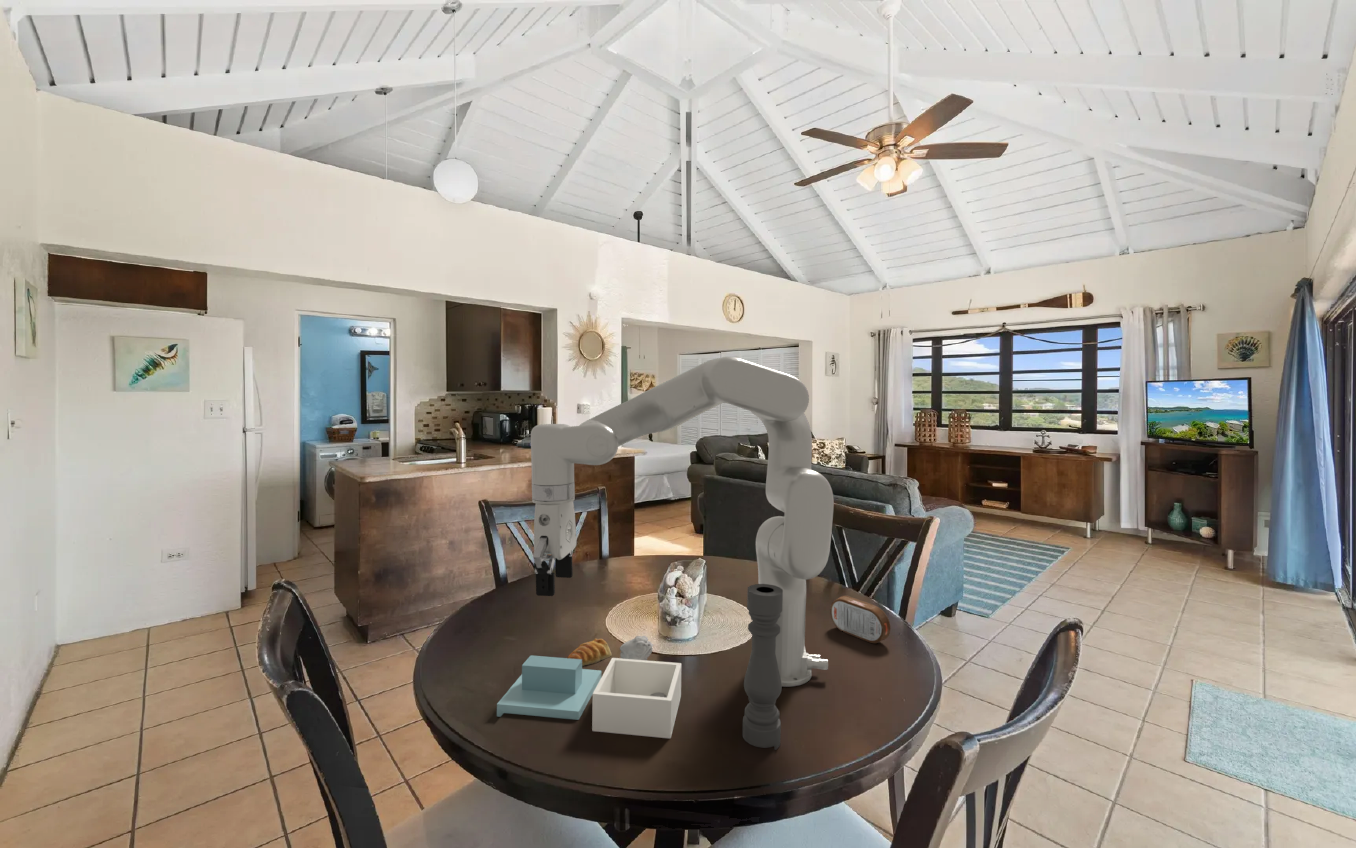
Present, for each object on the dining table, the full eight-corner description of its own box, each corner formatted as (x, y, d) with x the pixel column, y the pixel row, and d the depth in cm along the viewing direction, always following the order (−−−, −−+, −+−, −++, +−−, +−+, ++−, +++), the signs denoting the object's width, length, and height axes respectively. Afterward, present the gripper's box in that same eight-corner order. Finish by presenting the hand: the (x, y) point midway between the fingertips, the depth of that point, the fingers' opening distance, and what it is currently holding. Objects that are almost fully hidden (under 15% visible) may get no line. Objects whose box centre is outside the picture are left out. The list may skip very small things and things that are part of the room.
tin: (890, 646, 130) (892, 609, 130) (882, 649, 128) (884, 612, 128) (835, 624, 142) (836, 591, 141) (827, 627, 140) (828, 593, 140)
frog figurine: (648, 679, 113) (648, 645, 112) (614, 675, 114) (614, 640, 114) (656, 665, 119) (657, 632, 118) (624, 661, 120) (624, 628, 120)
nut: (667, 704, 103) (667, 693, 102) (665, 713, 100) (665, 702, 100) (651, 702, 103) (651, 691, 103) (648, 711, 100) (648, 700, 100)
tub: (680, 700, 105) (681, 663, 105) (670, 743, 92) (671, 700, 92) (611, 694, 107) (612, 657, 107) (592, 735, 94) (592, 693, 94)
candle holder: (776, 729, 97) (780, 583, 95) (784, 752, 91) (788, 596, 89) (739, 729, 97) (743, 583, 95) (745, 752, 90) (748, 596, 89)
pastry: (579, 675, 114) (579, 656, 114) (558, 665, 119) (558, 647, 119) (614, 659, 122) (614, 642, 121) (592, 650, 126) (593, 633, 126)
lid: (601, 681, 112) (601, 648, 111) (578, 724, 97) (579, 685, 97) (529, 675, 114) (529, 642, 113) (496, 716, 99) (496, 678, 99)
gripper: (557, 502, 94) (559, 604, 95) (587, 485, 112) (588, 571, 113) (513, 501, 95) (516, 602, 96) (550, 484, 113) (552, 570, 114)
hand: (555, 585), depth 104 cm, fingers open, 9 cm apart
